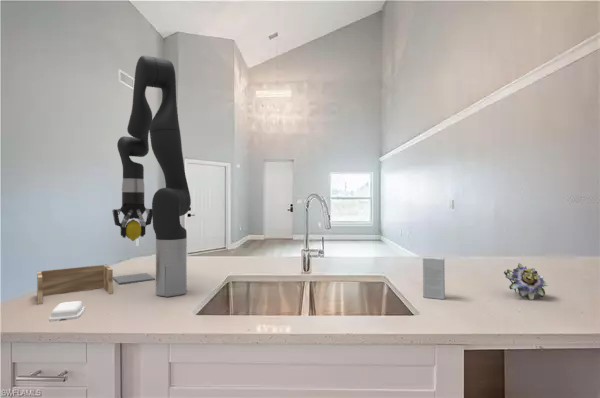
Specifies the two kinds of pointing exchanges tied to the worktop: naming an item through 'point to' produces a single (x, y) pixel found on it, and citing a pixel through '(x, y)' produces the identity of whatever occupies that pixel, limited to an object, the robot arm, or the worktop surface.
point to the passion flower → (526, 281)
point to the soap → (67, 311)
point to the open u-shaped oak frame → (74, 280)
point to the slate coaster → (133, 278)
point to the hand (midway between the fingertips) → (133, 236)
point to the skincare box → (433, 277)
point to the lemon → (133, 229)
